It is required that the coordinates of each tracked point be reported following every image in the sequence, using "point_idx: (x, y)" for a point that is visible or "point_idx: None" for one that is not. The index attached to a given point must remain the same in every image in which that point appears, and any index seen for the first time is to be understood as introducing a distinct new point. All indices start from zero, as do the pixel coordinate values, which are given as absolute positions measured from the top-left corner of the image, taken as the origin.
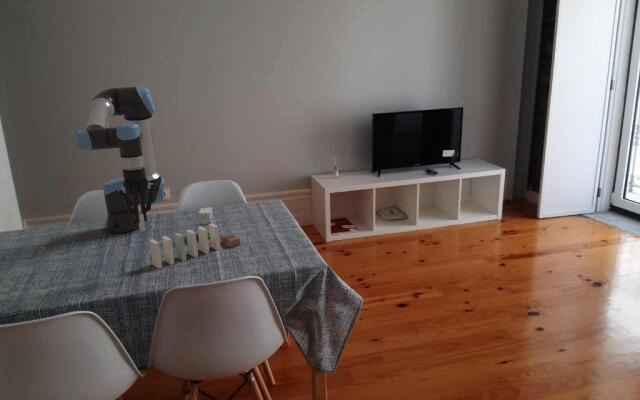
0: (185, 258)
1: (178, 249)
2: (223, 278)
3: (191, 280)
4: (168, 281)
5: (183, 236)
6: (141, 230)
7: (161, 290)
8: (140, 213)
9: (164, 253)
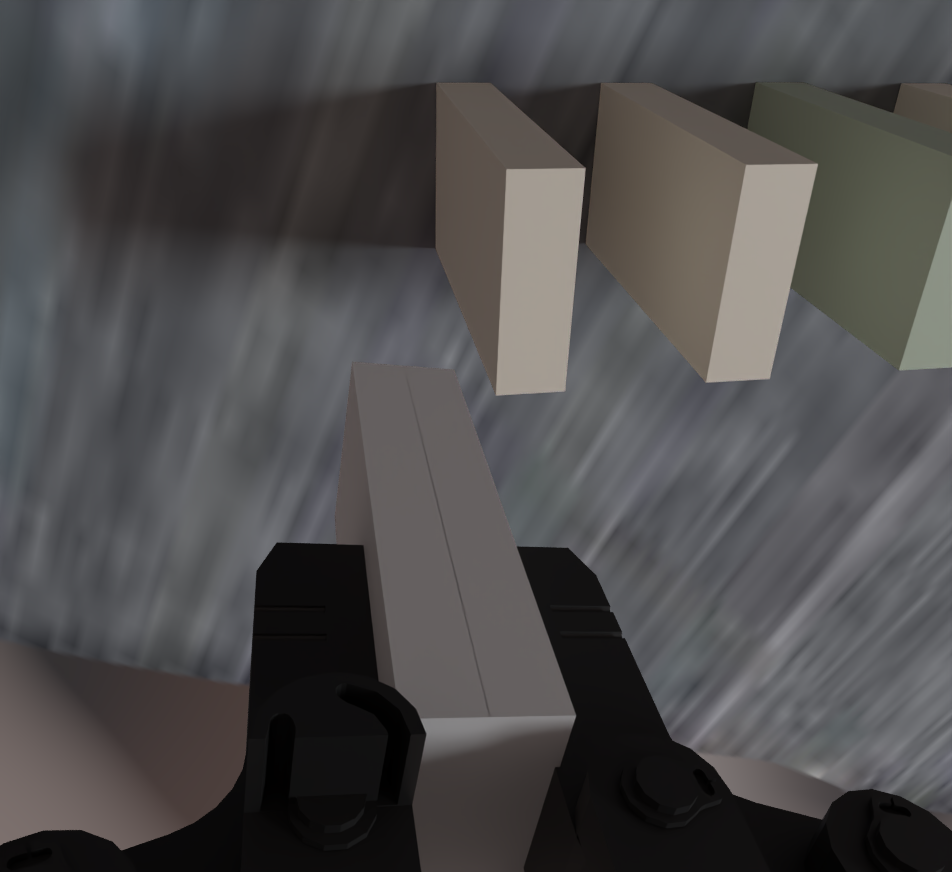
0: None
1: None
2: (705, 735)
3: None
4: None
5: (948, 364)
6: (338, 534)
7: None
8: (463, 839)
9: (634, 115)
